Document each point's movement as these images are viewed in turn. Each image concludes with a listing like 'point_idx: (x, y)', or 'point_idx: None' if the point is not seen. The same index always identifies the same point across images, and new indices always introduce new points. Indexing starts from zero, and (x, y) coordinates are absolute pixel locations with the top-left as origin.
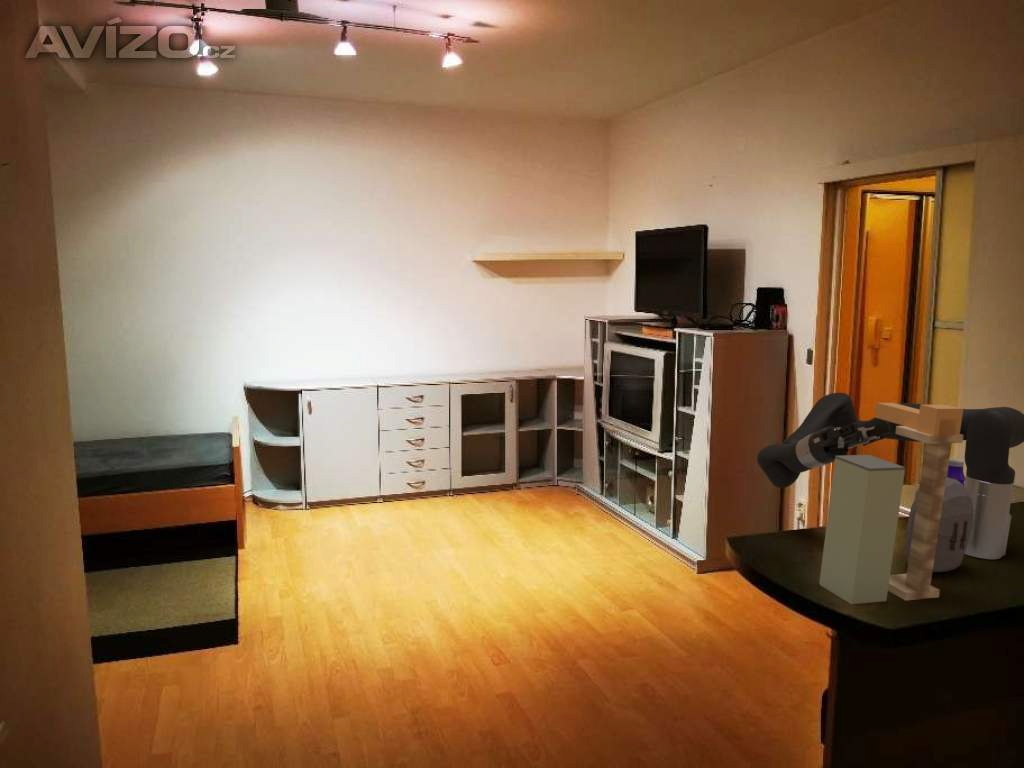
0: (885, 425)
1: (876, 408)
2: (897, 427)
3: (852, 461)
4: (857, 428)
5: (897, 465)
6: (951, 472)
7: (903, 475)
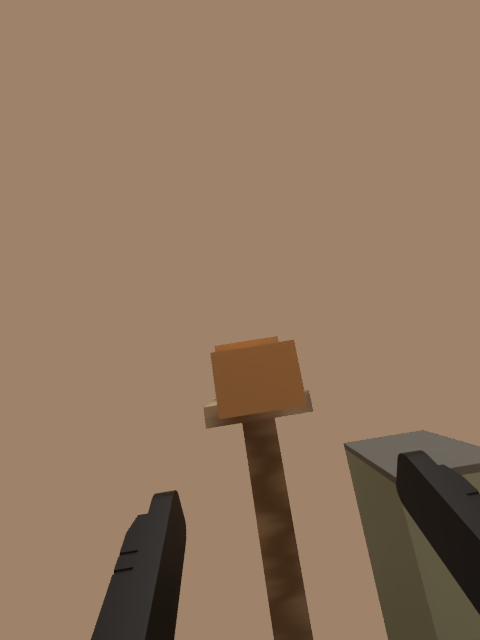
0: (177, 512)
1: (298, 364)
2: (308, 393)
3: (458, 442)
4: (397, 475)
5: (354, 445)
6: None
7: (348, 459)
